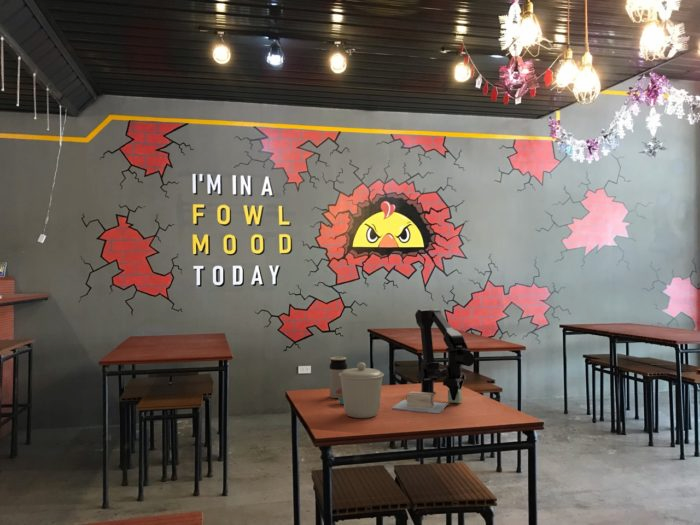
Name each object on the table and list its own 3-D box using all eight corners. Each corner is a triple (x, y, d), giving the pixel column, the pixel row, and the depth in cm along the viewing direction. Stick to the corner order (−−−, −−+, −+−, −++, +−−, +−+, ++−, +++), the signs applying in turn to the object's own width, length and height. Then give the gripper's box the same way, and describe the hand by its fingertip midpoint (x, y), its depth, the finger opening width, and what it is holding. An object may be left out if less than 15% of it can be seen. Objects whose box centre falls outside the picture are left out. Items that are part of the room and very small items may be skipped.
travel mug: (350, 396, 256) (350, 357, 256) (341, 399, 249) (341, 359, 249) (335, 394, 260) (335, 356, 260) (326, 398, 253) (326, 358, 253)
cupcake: (332, 404, 240) (332, 376, 240) (340, 400, 247) (340, 373, 248) (351, 406, 236) (351, 378, 237) (358, 402, 244) (358, 374, 244)
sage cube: (450, 399, 244) (450, 388, 244) (461, 400, 242) (461, 389, 242) (447, 402, 240) (447, 390, 240) (459, 403, 238) (459, 391, 238)
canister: (378, 422, 210) (377, 367, 211) (333, 419, 216) (332, 365, 216) (388, 411, 228) (388, 360, 228) (346, 408, 233) (346, 358, 233)
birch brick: (410, 403, 239) (410, 391, 240) (433, 404, 236) (433, 393, 236) (407, 406, 234) (407, 394, 234) (430, 408, 230) (430, 396, 230)
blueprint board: (403, 400, 246) (403, 399, 246) (448, 405, 238) (448, 403, 238) (392, 409, 231) (392, 407, 231) (439, 413, 224) (439, 411, 224)
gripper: (441, 358, 253) (441, 393, 253) (431, 365, 236) (431, 401, 236) (466, 360, 249) (466, 395, 248) (457, 366, 232) (457, 404, 231)
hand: (454, 398), depth 241 cm, fingers closed on sage cube, 5 cm apart
